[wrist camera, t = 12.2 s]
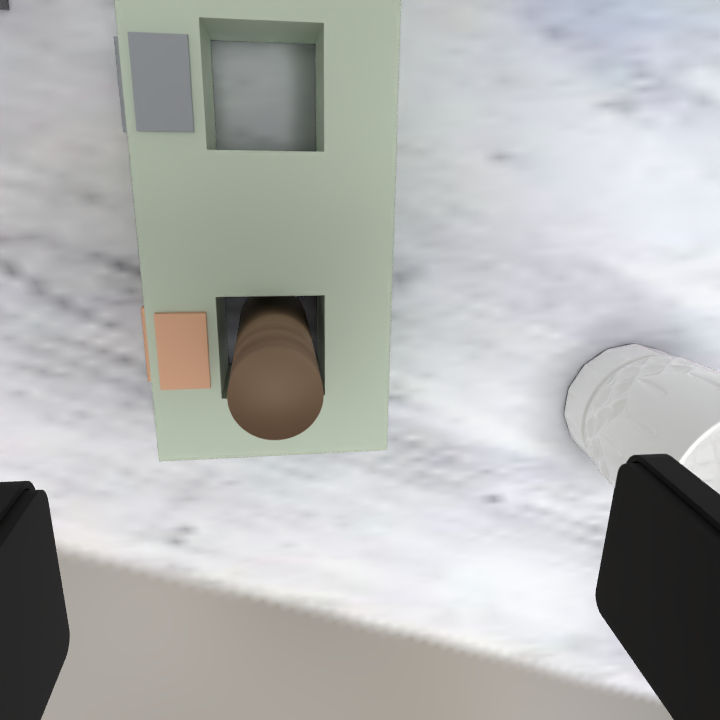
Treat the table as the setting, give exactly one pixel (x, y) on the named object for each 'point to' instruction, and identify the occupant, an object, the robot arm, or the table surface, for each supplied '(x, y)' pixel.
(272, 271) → the socket block
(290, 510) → the table surface
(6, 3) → the mat
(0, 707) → the robot arm
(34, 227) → the table surface
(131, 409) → the table surface
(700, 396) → the white cup
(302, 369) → the dowel
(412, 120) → the table surface
